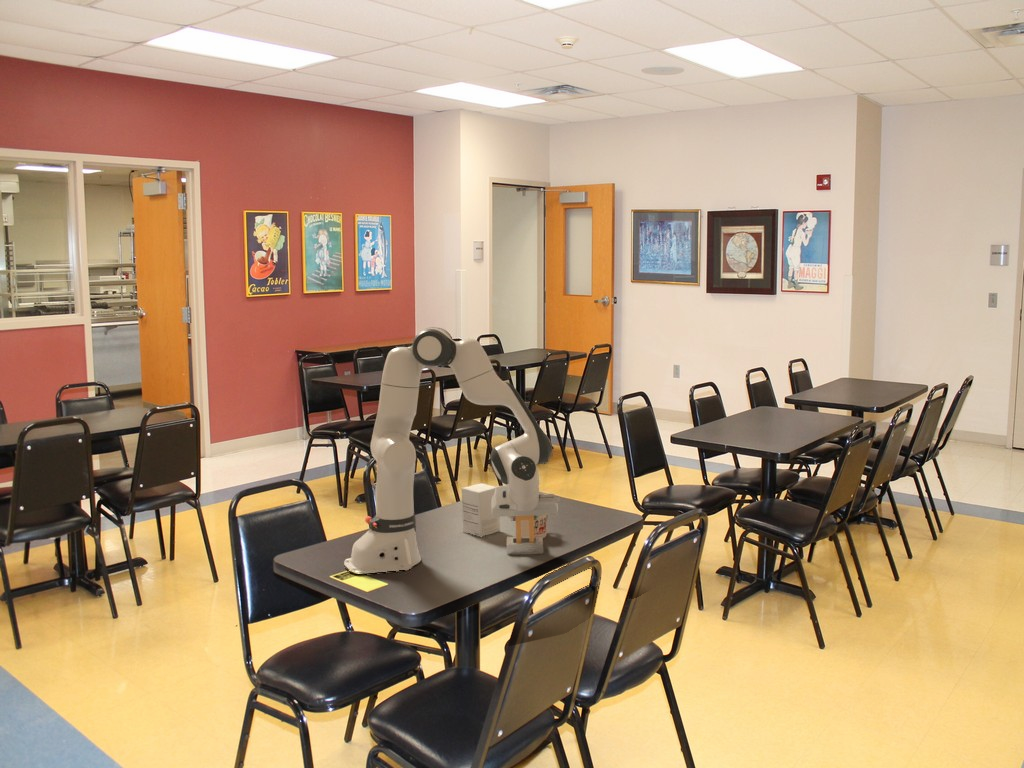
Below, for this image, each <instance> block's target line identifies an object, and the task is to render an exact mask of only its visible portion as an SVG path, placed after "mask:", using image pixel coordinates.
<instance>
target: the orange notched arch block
mask: <svg viewBox="0 0 1024 768" xmlns="http://www.w3.org/2000/svg"><path fill="white" fill-rule="evenodd" d="M521 520H529V542H534V516H516V521H515V535H516V536H515V537H516V543H521Z"/></svg>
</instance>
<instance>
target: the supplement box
mask: <svg viewBox="0 0 1024 768" xmlns="http://www.w3.org/2000/svg"><path fill="white" fill-rule="evenodd" d="M496 487H497V486H494V485H491V484H486V483H482V482H481V483H477V484H472V485H469V486H465V487H462V488H461V507H462V508H461V510H462V511H461V512H462V533H465V532H467V533H466V534H468V533H470V534H469V535H472V534H474V535H473V536H475V535H477V536H476V537H479V536H480V538H482V537H481V536H483V537H486V536H488V535H492V534H495V533H497V532H500V531H501V521H500V520H501V519H500V518H501V516H497V517H494V516H492V515H491V500H492V496H493V495H494V493H495V488H496ZM485 535H486V536H485Z"/></svg>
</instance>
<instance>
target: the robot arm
mask: <svg viewBox="0 0 1024 768" xmlns="http://www.w3.org/2000/svg"><path fill="white" fill-rule="evenodd" d="M412 340H413V341H412V344H411V345H410V346H398V347H395V348H392V349H391V350H390V351H389V352H388V353H387V356H386V359H385V362H384V366H383V369H382V370H383V371H382V376H381V380H380V381H381V382H380V391H379V400H378V407H377V413H376V416H375V417H376V418H375V422H374V426H373V430H372V431H373V432H372V435H371V440H370V446H369V447H370V453H371V456H372V457H373V459H375V462H376V466H377V468H376V483H375V490H374V492H375V493H374V495H375V513H376V514H375V515H374V516H373V518H372V517H371V516H369V515H367V516H366V517H364V520H365V522H366V524H368V525H369V529H368V530H367V531H366V532H365V533H364V534H362V536H360V537H359V539H357V540H355V542H354V543H353V545H352V549H351V553H350V554H351V555H350V557H349V558H346V559H345V560H344V561H343V563H344V564H343V566H344V565H345V566H346V567H347V568H348V569H349V570H351V571H354V572H357V573H375V572H386V573H388V572H387V571H396V572H400V571H399V570H405V571H409V569H410V570H412V568H413V567H414V566H415V565H417V564H419V563H421V560H422V558H421V554H420V551H419V547H418V543H417V535H416V532H417V518H416V513H415V510H414V509H415V508H414V507H415V506H414V504H415V503H414V482H415V481H414V480H415V475H416V474H415V473H416V472H415V471H416V461H417V454H416V453H417V452H416V448H415V446H414V443H413V442H412V441H411V440H410V434H411V430H412V427H413V422H414V419H415V417H416V415H417V410H418V402H419V401H418V399H419V391H420V385H421V383H420V382H421V377H422V373H423V370H424V368H426V367H429V368H434V367H443V366H448V367H449V368H450V369H451V370H452V371H453V373H454V376H455V379H456V381H457V383H458V386H459V389H460V390H461V392H462V394H463V396H464V398H465V399H466V400H467V401H469V402H470V403H472V404H475V405H479V406H505V407H506V408H509V409H510V410H511V412H512V413H513V415H514V416H515V418H516V419H517V422H518V423H519V424H520V426H521V427H522V430H523V431H524V433H523V434H522V435H520V436H517V437H515V438H513V439H511V440H509V441H506V442H503V443H500V444H499V445H497V446H494V447H493V448H492V450H491V453H490V458H489V459H490V466H491V470H492V471H493V473H494V475H495V477H496V478H497V480H498V481H500V483H502V484H504V485H499V486H495V487H496V488H495V493H494V495H493V496H492V500H491V515H492V516H494V517H497V516H500V517H507V518H509V519H510V521H511V522H516V516H534V520H539V518H540V517H541V516H542V515H548V516H555V515H557V514H559V505H558V504H559V502H560V498H561V497H560V496H559V495H555V494H554V493H540V473H539V469H538V466H539V465H541V464H544V463H547V462H548V461H549V459H550V457H551V455H552V452H553V449H554V448H553V445H552V442H551V440H550V438H549V437H548V436H547V434H546V433H545V432H544V431H543V429H542V428H541V426H540V425H539V423H538V421H537V420H536V418H535V417H534V415H533V413H532V412H531V410H530V409H529V407H528V406H527V404H526V402H525V401H524V399H523V398H522V396H521V395H520V393H519V392H518V391H517V389H516V388H515V387H514V385H513V384H511V383H510V382H508V381H507V382H506V381H504V380H502V379H501V378H500V377H499V376H498V375H497V373H496V370H495V369H494V367H493V365H492V362H491V359H490V358H489V356H488V354H487V353H486V350H485V349H484V347H483V346H482V344H481V343H480V342H479V341H478V340H477V339H474V338H463V339H461V340H453V337H452V336H451V334H450V333H449V332H448V331H447V330H446V329H444V328H441V327H435V326H431V327H428V328H424V329H423V330H421V331H420V332H418V333H417V335H415V337H414V338H413V339H412Z"/></svg>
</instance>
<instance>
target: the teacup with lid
mask: <svg viewBox="0 0 1024 768" xmlns="http://www.w3.org/2000/svg"><path fill="white" fill-rule="evenodd" d="M548 520H549V515H542V516H541V517H540V518H539V520H534V536H542V539H544V538H545V537H546V536H547V523H548ZM525 536H529V520H521V537H525Z"/></svg>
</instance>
